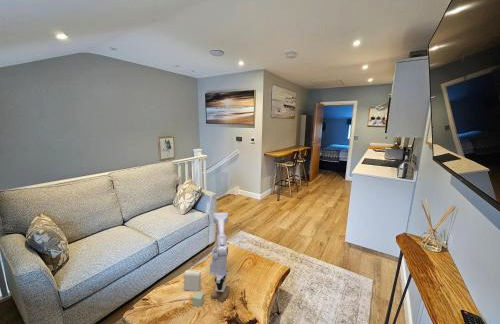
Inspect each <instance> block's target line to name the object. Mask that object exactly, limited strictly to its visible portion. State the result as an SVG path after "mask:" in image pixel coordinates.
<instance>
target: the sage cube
mask: <svg viewBox="0 0 500 324" xmlns="http://www.w3.org/2000/svg"><path fill="white" fill-rule="evenodd" d="M191 300H192V302H191V304H192V306H193V307H199V306H201V307H202V305H203V303H202V302H204V301H205V292H202V291H195V292H194V294H193V296H192V299H191ZM203 300H204V301H203Z"/></svg>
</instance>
